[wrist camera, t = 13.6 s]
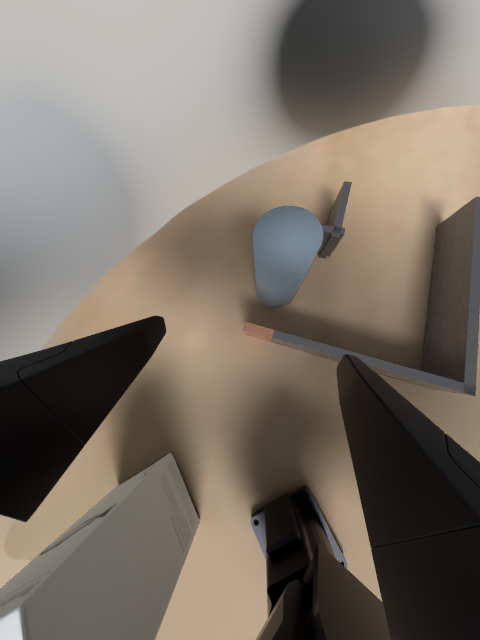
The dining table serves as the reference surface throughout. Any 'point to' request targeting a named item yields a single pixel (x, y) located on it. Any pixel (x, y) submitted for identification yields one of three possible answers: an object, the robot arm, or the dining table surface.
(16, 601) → the supplement box
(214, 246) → the dining table surface
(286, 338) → the bent channel
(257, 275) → the slate peg
